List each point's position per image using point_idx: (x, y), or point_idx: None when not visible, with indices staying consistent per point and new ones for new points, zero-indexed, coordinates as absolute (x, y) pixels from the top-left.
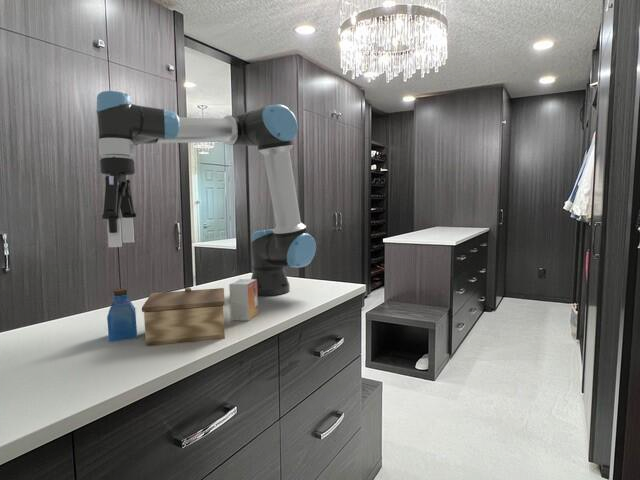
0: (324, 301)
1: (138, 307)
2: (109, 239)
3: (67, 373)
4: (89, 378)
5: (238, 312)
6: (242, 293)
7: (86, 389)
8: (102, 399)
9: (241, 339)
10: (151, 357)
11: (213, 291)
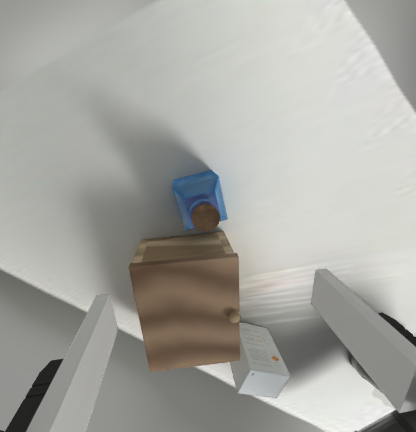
0: (287, 407)
1: (381, 166)
2: (85, 323)
3: (39, 168)
4: (20, 205)
5: None
6: (236, 371)
7: None
8: None
9: None
10: (93, 257)
11: (219, 350)
